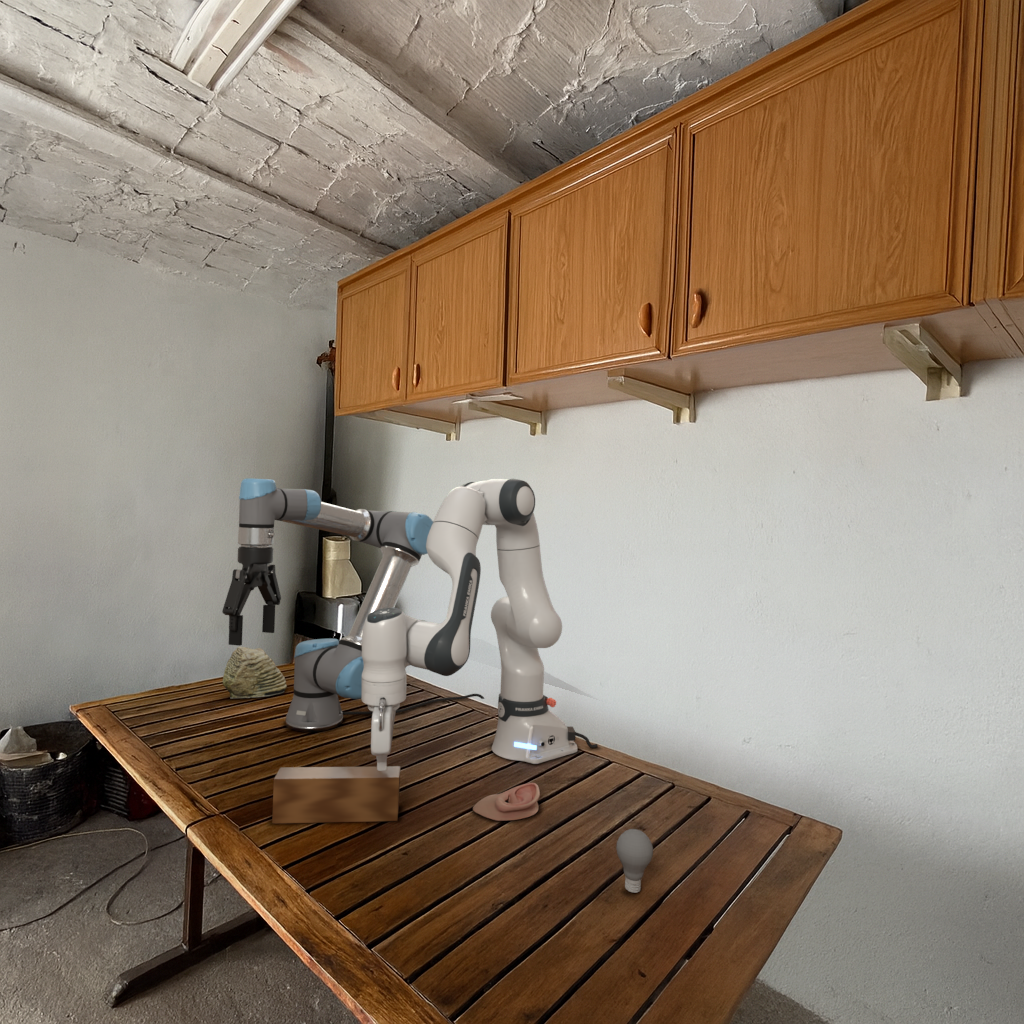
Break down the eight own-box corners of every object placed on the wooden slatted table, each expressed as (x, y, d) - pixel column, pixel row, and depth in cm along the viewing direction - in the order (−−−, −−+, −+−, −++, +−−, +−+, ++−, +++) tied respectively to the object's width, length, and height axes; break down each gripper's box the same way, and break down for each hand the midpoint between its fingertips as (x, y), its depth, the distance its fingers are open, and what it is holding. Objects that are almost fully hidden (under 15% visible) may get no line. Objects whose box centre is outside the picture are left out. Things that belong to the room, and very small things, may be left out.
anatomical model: (469, 797, 128) (483, 773, 139) (468, 816, 128) (482, 791, 139) (534, 806, 125) (543, 781, 136) (533, 826, 125) (542, 799, 136)
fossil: (218, 695, 195) (220, 647, 195) (278, 685, 208) (279, 640, 207) (228, 703, 189) (230, 653, 188) (289, 692, 201) (290, 645, 201)
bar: (272, 823, 122) (273, 778, 122) (278, 810, 127) (280, 767, 127) (397, 821, 125) (399, 777, 125) (398, 808, 130) (400, 766, 130)
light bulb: (610, 879, 108) (613, 822, 108) (644, 879, 109) (647, 822, 109) (619, 902, 102) (622, 840, 102) (655, 901, 103) (658, 840, 103)
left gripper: (239, 550, 132) (235, 652, 132) (297, 543, 157) (294, 628, 157) (206, 548, 133) (203, 649, 133) (269, 541, 158) (266, 626, 158)
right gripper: (398, 708, 117) (397, 781, 117) (401, 675, 137) (401, 738, 138) (363, 709, 116) (362, 783, 116) (371, 676, 136) (371, 739, 137)
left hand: (252, 638), depth 145 cm, fingers open, 13 cm apart
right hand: (383, 758), depth 127 cm, fingers open, 8 cm apart
